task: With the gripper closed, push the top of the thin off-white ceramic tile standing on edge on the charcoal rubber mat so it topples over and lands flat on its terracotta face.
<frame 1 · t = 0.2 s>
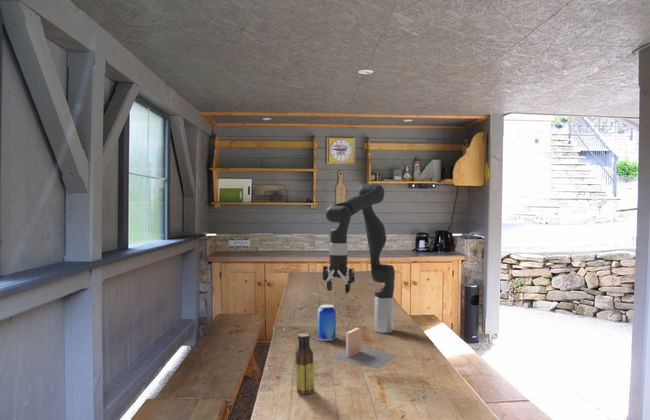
hand: (338, 291, 195), 27 cm above the table, fingers open, 8 cm apart
mat: (363, 357, 193), on the table
sauce bottle: (304, 392, 159), on the table
beer can: (326, 339, 217), on the table
tile: (353, 353, 196), point 1 cm above the table, touching mat
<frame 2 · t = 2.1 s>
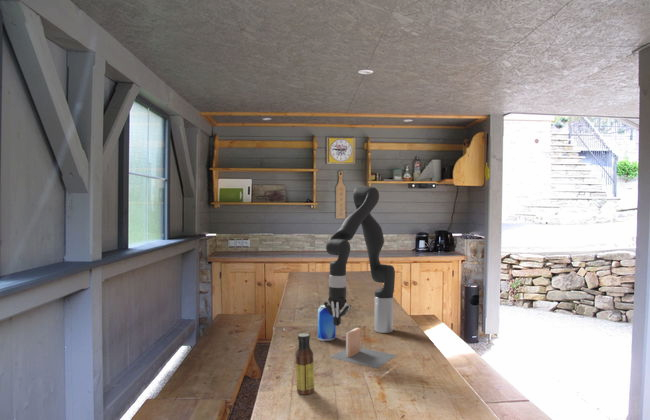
hand: (337, 325, 200), 12 cm above the table, fingers closed
nothing on the table moved.
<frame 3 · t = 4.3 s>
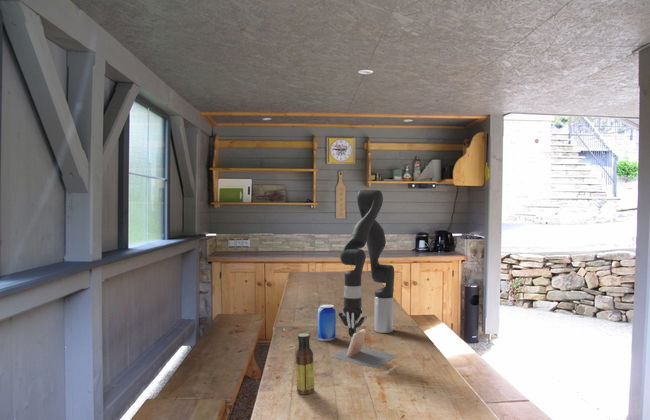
hand: (352, 336, 196), 8 cm above the table, fingers closed
tile: (353, 353, 196), point 1 cm above the table, tilted 19°, touching mat
everything else where it was.
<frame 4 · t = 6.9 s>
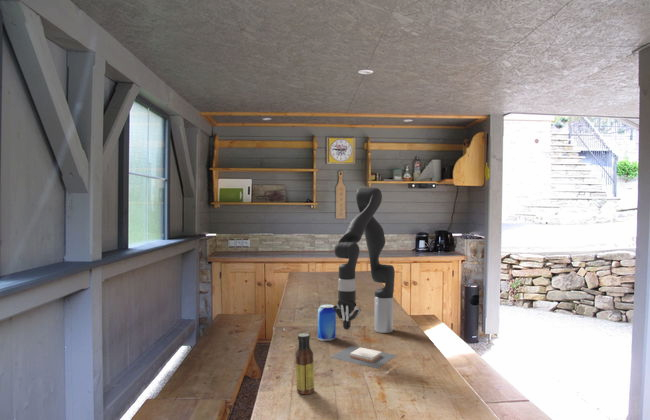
hand: (346, 328, 198), 11 cm above the table, fingers closed
tile: (355, 352, 195), point 1 cm above the table, tilted 90°, touching mat
everything else where it was.
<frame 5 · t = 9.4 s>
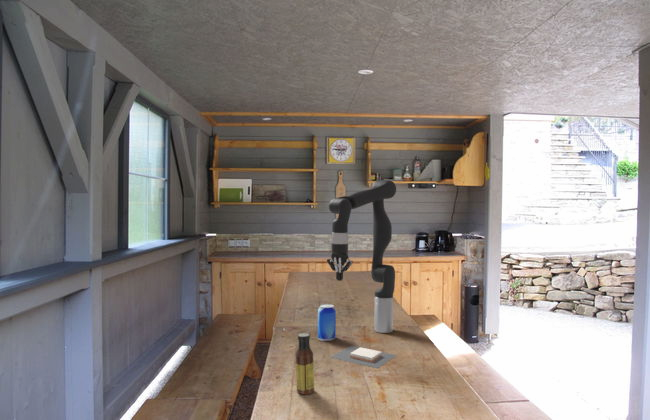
hand: (339, 280, 211), 29 cm above the table, fingers closed
nothing on the table moved.
at the end: tile tilted 90°; tile point 1.5 cm above the table; tile inside the target area on the mat (3.9 cm from its centre), point 1.5 cm above the mat's base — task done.
